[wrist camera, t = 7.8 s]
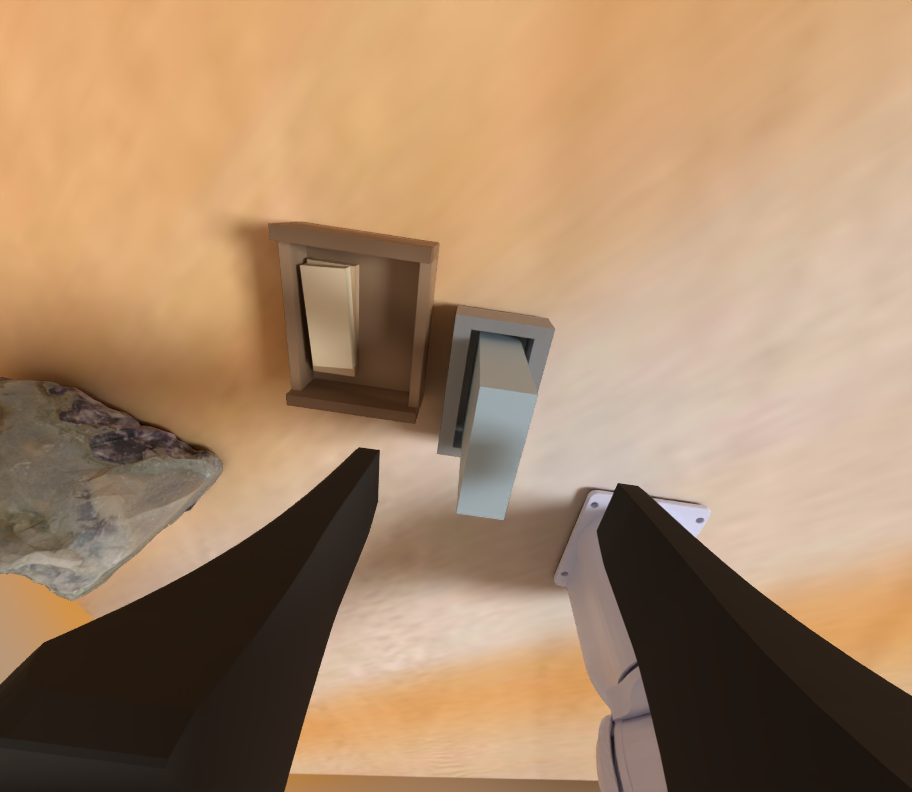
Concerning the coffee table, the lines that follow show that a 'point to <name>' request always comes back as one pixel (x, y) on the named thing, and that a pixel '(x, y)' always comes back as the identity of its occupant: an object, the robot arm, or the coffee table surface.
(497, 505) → the pale blue flat block
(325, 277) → the block
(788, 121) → the coffee table surface
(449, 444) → the stand
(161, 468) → the mineral rock
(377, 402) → the frame
